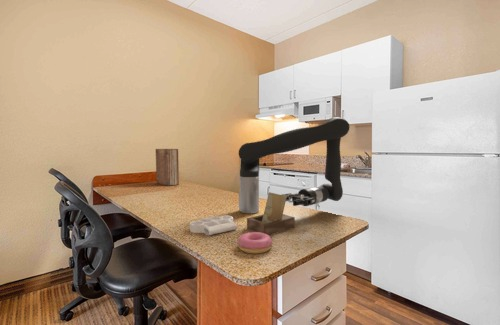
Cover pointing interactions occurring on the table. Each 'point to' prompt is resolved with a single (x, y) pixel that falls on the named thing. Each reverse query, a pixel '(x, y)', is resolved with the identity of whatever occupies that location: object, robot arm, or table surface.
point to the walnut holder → (270, 224)
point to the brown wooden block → (167, 166)
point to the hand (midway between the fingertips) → (285, 201)
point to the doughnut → (254, 242)
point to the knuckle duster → (213, 225)
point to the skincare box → (274, 207)
